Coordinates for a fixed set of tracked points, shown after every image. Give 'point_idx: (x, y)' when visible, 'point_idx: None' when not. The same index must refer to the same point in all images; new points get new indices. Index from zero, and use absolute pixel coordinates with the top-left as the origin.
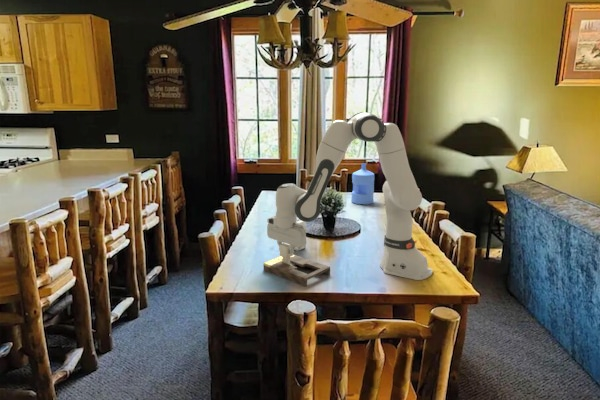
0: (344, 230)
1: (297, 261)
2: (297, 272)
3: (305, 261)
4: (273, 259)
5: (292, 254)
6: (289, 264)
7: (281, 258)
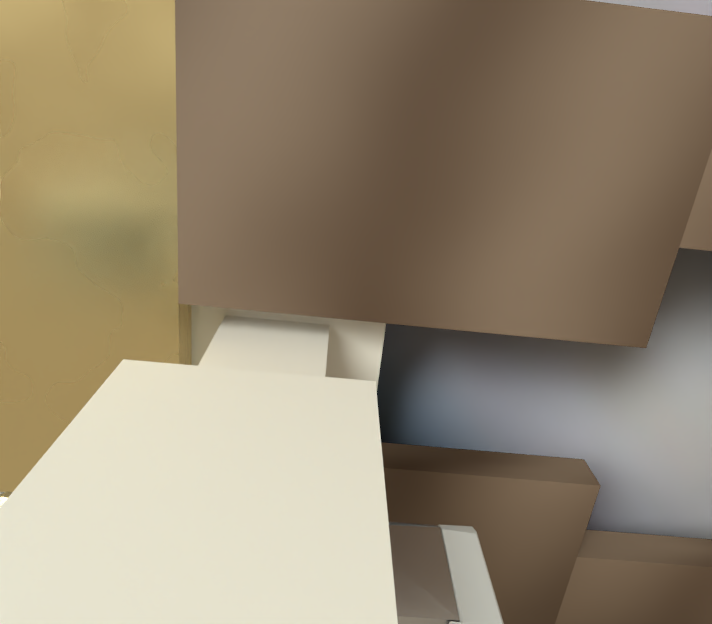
0: None
1: (459, 269)
2: (696, 613)
3: (619, 165)
4: (12, 456)
5: (374, 408)
6: (331, 346)
7: (81, 334)
